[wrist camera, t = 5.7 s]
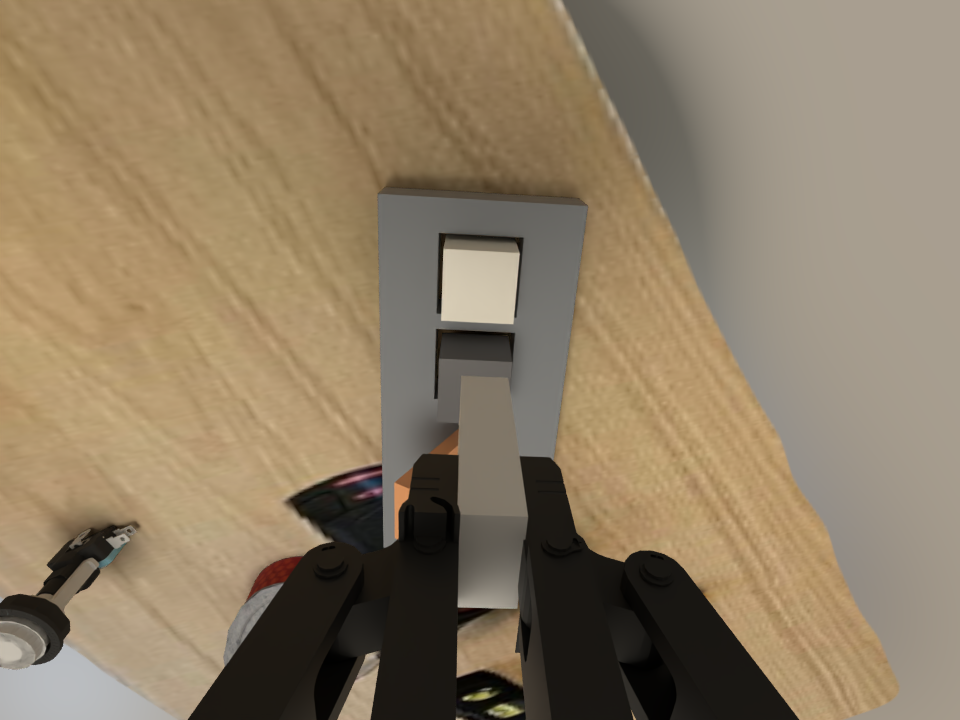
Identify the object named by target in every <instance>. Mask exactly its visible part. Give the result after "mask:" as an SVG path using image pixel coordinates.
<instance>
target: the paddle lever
mask: <svg viewBox="0 0 960 720" xmlns="http://www.w3.org/2000/svg"><path fill="white" fill-rule="evenodd" d="M458 436H459V429H457V430H456V431H455V432H454V433H453V434H451V435H450V436H449V437H448V438H447V439H446V440H444V441H443V442H442V443H441V444H440V445H438V446H437V447H436V448H435V449H434V450H432V451H431V452H430V453H429V454H447V455H458ZM412 471H413V467H412V468H411V469H410V470H409V471H407V472H406V473H405V474H404V475H403V476H401V477H400V478H399V479H398V480H397V481H396V482H394V506H395V539H398V538H399V529H398V511H399V509H400V507H401V505H402V503H404V502H405V501H406V500H407V499H408V497H409V490H410V484H411V478H412Z"/></svg>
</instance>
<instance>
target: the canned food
mask: <svg viewBox="0 0 960 720" xmlns="http://www.w3.org/2000/svg"><path fill="white" fill-rule="evenodd" d="M302 557H303V556H295V557H290V558H285V559H282V560H279V561H276V562H274V563H272V564H271V565H269V566H268V567H266V568H265V569H264V570H263V571H262V572H261V573H260V574H259V576H258V577H257V579H256V580H255V583H254V585H253V587H252V589H251V592H250V594H249V596H248V598H247V600H246V602H245V604H244V605H243V606H242V607H241V609H240V610H239V612H238V614H237V616H236V618H235V620H234V621H233V623H232V625H231V626H230V628H229V630H228V636H227V643H226V648H225V652H224V664H225V666H226V665H227V663H228V662H229V660H230V659H231V658H232V656H233V655H234V653H235V652H236V650H237V649H238V648H239V646H240V645H241V643H242V642H243V640H244V639H245V638H246V636H247V635H248V633H249V632H250V631H251V629H252V628H253V626H254V625H255V623H256V622H257V621H258V619H259V618H260V616H261V615H262V613H263V612H264V611H265V609H266V608H267V606H268V605H269V604H270V602H271V601H272V599H273V598H274V596H275V595H276V594H277V592H278V591H279V589H280V588H281V586H282V585H283V584H284V582H285V581H286V579H287V578H288V577H289V575H290V574H291V572H292V571H293V569H294V568H295V567H296V565H297V564H298V562H299V561H300V559H301V558H302Z"/></svg>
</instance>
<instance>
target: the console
mask: <svg viewBox="0 0 960 720" xmlns="http://www.w3.org/2000/svg"><path fill="white" fill-rule="evenodd" d="M587 210H588V206H587V205H586V204H585V203H584V202H583V201H581V200H580V199H579V198H564V197H547V196H530V195H513V194H496V193H479V192H462V191H445V190H428V189H411V188H394V187H385V188H383V189H382V190H381V191H380V192H379V193H378V245H379V302H380V360H381V418H382V475H383V533H384V547H388V546H390V545H391V544H393V543H394V542H395V541H396V540H397V539H395V506H394V482H396V481H397V480H398V479H399V478H400V477H401V476H403V475H404V474H405V473H406V472H407V471H409V470H410V469H411V468H412V467H413V464H414V463H415V462H416V461H417V460H418V459H419V457H420V456H421V455H422V454H429V453H430V452H431V451H432V450H434V449H435V448H436V447H437V446H438V445H440V444H441V443H442V442H443V441H444V440H446V439H447V438H448V437H449V436H450V435H451V434H453V433H454V432H455V431H456V430H457V429H459V423H448V422H437V411H438V379H437V349H438V329H449V330H469V331H489V332H510V333H511V335H510V351H511V357H512V371H511V382H510V394H511V401H512V408H513V415H514V422H515V429H516V436H517V443H518V450H519V456H531V457H550V458H551V459H552V460H554V452H555V445H556V437H557V430H558V423H559V415H560V408H561V401H562V393H563V386H564V379H565V371H566V364H567V357H568V349H569V342H570V335H571V327H572V320H573V313H574V305H575V298H576V291H577V283H578V276H579V269H580V261H581V254H582V247H583V239H584V232H585V225H586V217H587ZM441 233H451V234H468V235H486V236H504V237H519V244H518V250H519V253H520V255H519V266H518V278H517V289H516V300H515V311H514V322H513V324H497V323H477V322H457V321H441V312H442V299H439V281H440V247H441Z"/></svg>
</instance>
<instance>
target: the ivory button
mask: <svg viewBox="0 0 960 720" xmlns="http://www.w3.org/2000/svg"><path fill="white" fill-rule="evenodd" d="M519 255H520V253H519V250H518V247H517V244H516V241H515V238H511V237H494V236H476V235H458V234H446V239H445V244H444V249H443V281H442V312H441V321H457V322H477V323H497V324H513V322H514V311H515V300H516V289H517V278H518V266H519Z"/></svg>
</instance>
